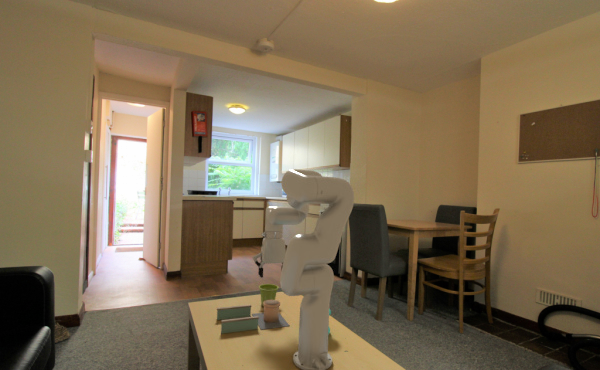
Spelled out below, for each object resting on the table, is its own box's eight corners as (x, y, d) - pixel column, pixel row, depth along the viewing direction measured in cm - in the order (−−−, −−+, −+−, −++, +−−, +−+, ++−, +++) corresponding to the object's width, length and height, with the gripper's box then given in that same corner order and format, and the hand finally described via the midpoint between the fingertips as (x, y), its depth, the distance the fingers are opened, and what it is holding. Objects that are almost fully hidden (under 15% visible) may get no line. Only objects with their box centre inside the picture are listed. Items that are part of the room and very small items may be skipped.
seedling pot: (281, 321, 130) (282, 304, 130) (265, 323, 127) (266, 306, 127) (276, 315, 136) (277, 299, 136) (260, 317, 134) (261, 300, 134)
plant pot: (279, 302, 153) (280, 284, 153) (275, 309, 144) (276, 290, 144) (260, 300, 154) (261, 283, 154) (256, 307, 144) (256, 289, 145)
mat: (289, 326, 126) (289, 325, 126) (260, 329, 122) (260, 329, 122) (277, 311, 141) (277, 311, 141) (251, 314, 137) (251, 313, 137)
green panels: (258, 329, 122) (258, 317, 122) (221, 333, 117) (221, 321, 117) (250, 315, 136) (250, 304, 136) (216, 318, 130) (216, 307, 130)
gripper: (255, 236, 126) (254, 279, 125) (295, 236, 132) (294, 277, 131) (251, 234, 133) (250, 275, 132) (289, 234, 139) (288, 272, 138)
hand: (272, 276), depth 132 cm, fingers open, 9 cm apart
